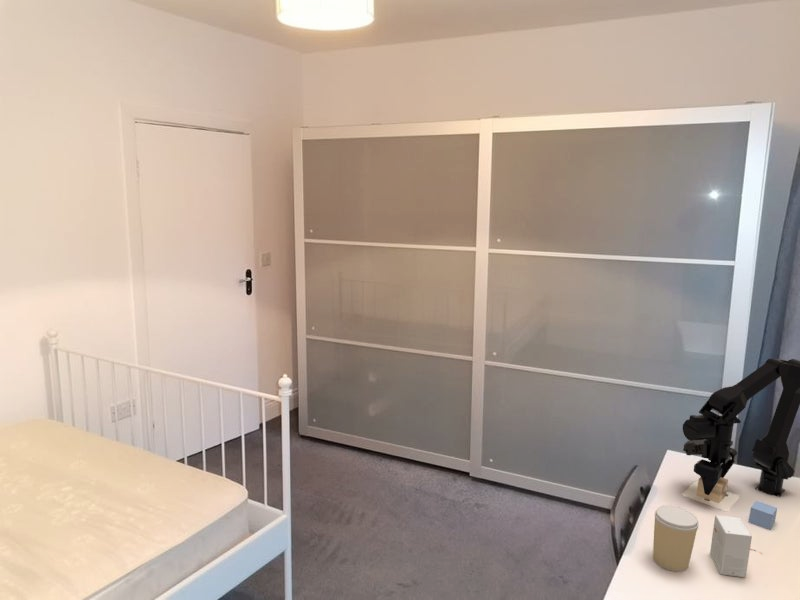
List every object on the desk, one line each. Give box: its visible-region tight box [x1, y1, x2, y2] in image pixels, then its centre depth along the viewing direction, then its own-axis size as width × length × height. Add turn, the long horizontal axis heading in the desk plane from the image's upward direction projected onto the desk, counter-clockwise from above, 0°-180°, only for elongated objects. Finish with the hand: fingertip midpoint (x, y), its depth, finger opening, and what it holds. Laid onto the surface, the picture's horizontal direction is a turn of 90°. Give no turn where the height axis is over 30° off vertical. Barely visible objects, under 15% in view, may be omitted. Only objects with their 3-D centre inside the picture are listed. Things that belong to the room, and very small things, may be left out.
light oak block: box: [696, 476, 729, 503], centre depth 172 cm, size 6×6×5 cm
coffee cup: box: [652, 504, 699, 572], centre depth 142 cm, size 9×9×12 cm
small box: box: [709, 514, 753, 578], centre depth 141 cm, size 8×6×10 cm
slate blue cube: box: [748, 500, 778, 531], centre depth 159 cm, size 5×5×5 cm
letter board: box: [681, 480, 741, 513], centre depth 173 cm, size 12×12×1 cm
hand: (712, 488), depth 172 cm, fingers open, 9 cm apart
